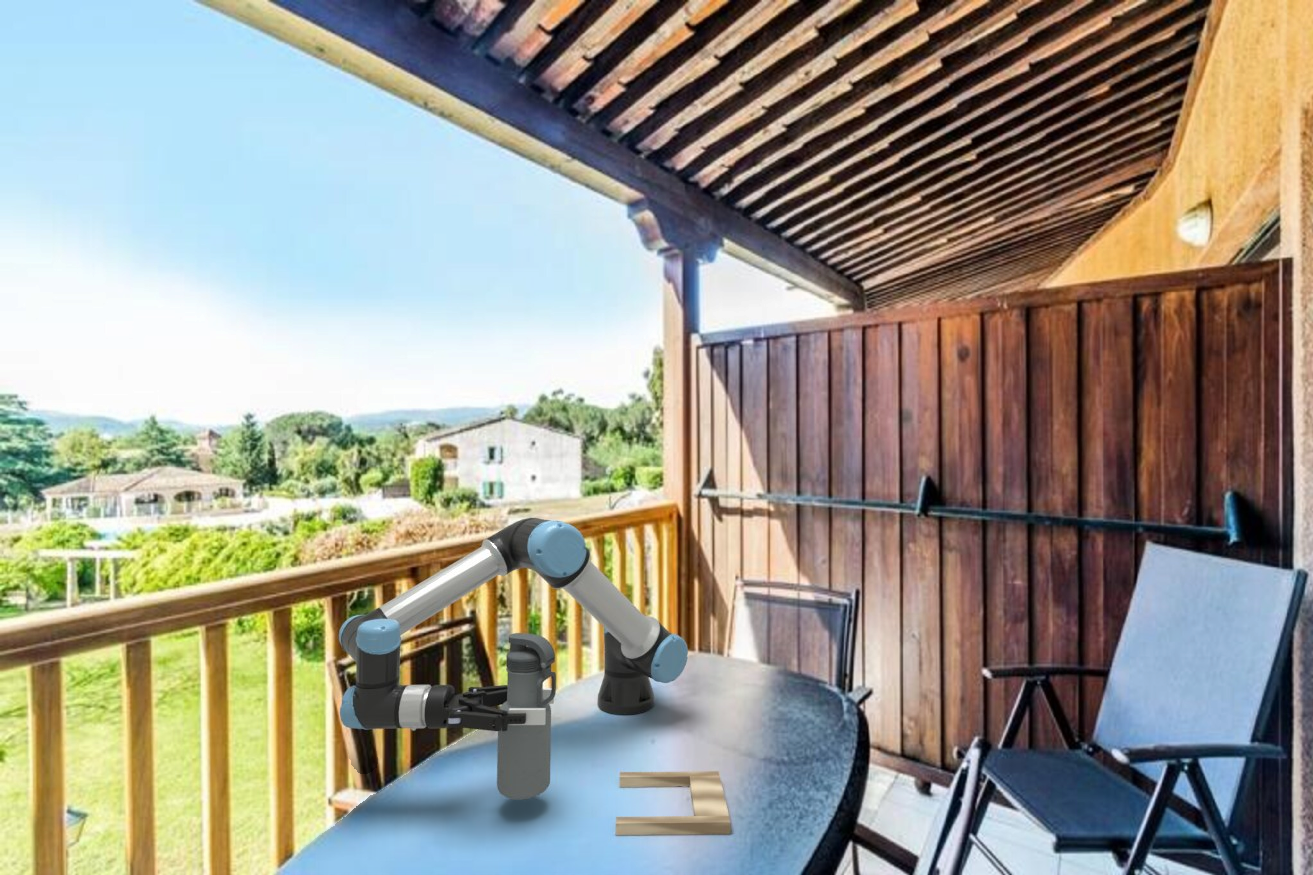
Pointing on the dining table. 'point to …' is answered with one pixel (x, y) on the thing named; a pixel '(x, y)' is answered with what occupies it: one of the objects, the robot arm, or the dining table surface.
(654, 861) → the dining table surface
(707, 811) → the oak cut-out board
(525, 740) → the water bottle
